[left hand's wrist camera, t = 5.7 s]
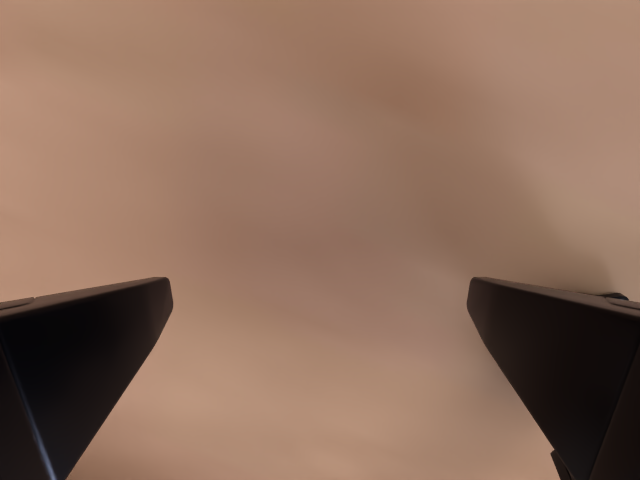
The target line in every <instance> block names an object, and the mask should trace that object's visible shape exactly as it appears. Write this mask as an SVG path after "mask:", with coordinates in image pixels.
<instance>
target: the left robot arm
mask: <svg viewBox="0 0 640 480" xmlns="http://www.w3.org/2000/svg"><path fill="white" fill-rule="evenodd" d="M172 309H173V298H172V292H171V286H170V281H169V279H168V278H166V277H152V278H146V279H140V280H135V281H129V282H123V283H117V284H111V285H105V286H99V287H93V288H87V289H81V290H75V291H69V292H64V293H58V294H52V295H46V296H40V297H36V298H34V297H31V298H25V299H19V300H13V301H7V302H1V303H0V480H66V478H67V477H68V475H69V474H70V472H71V471H72V469H73V468H74V466H75V465H76V463H77V462H78V460H79V459H80V457H81V456H82V454H83V453H84V451H85V450H86V448H87V447H88V445H89V444H90V442H91V441H92V439H93V438H94V436H95V435H96V433H97V432H98V430H99V429H100V427H101V426H102V424H103V423H104V421H105V420H106V418H107V417H108V415H109V414H110V412H111V411H112V409H113V408H114V406H115V405H116V403H117V402H118V400H119V399H120V397H121V396H122V394H123V393H124V391H125V390H126V388H127V387H128V385H129V384H130V382H131V381H132V379H133V378H134V376H135V375H136V373H137V372H138V370H139V369H140V367H141V366H142V364H143V363H144V361H145V360H146V358H147V357H148V355H149V354H150V352H151V351H152V349H153V347H154V346H155V344H156V342H157V340H158V339H159V337H160V335H161V332H162V330H163V328H164V326H165V324H166V322H167V320H168V318H169V316H170V314H171V312H172ZM467 309H468V312H469V314H470V316H471V318H472V320H473V322H474V324H475V326H476V328H477V330H478V332H479V335H480V337H481V339H482V340H483V342H484V344H485V346H486V347H487V349H488V351H489V352H490V354H491V355H492V357H493V358H494V360H495V361H496V363H497V364H498V366H499V367H500V369H501V370H502V372H503V373H504V375H505V376H506V378H507V379H508V381H509V382H510V384H511V385H512V387H513V388H514V390H515V391H516V393H517V394H518V396H519V397H520V399H521V400H522V402H523V403H524V405H525V406H526V408H527V409H528V411H529V412H530V414H531V415H532V417H533V418H534V420H535V421H536V423H537V424H538V426H539V427H540V429H541V430H542V432H543V433H544V435H545V436H546V438H547V439H548V441H549V442H550V444H551V445H552V447H553V448H554V451H552V452H551V457H552V459H553V462H554V464H555V467H556V469H557V472H558V474H559V477H560V479H561V480H640V303H639V302H633V301H629V299H628V298H627V297H626V296H624V295H623V294H621V293H613V294H606V295H589V294H583V293H577V292H571V291H565V290H559V289H553V288H547V287H541V286H535V285H529V284H523V283H517V282H511V281H506V280H500V279H494V278H488V277H474V278H472V279H471V281H470V286H469V292H468V298H467Z"/></svg>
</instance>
